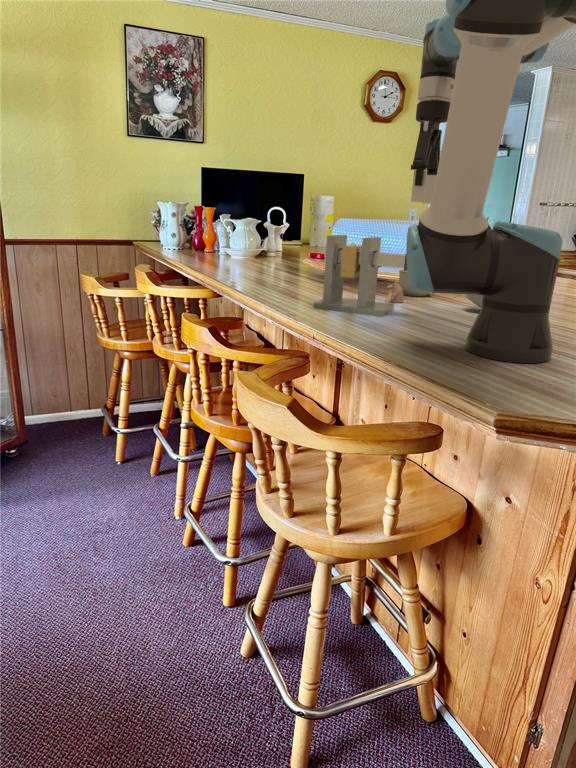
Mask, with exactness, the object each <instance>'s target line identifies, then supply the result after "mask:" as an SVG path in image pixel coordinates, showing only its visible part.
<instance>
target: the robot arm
mask: <svg viewBox="0 0 576 768" xmlns="http://www.w3.org/2000/svg"><path fill="white" fill-rule="evenodd" d="M445 9H446V13H445V14H444V15H443V16H440V17H435V18H433V19H431V20H429V21H428V22H427V24H426V26H425V31H424V36H423V41H422V43H423V47H422V57H421V68H420V77H419V82H418V83H419V84H418V90H417V91H418V92H417V101H419V102H418V103H417V104H416V111H415V121H417V122H418V123H420V124H419V125H420V127H419V133H418V138H417V141H416V147H415V151H414V156H413V160H412V164H411V165H410V170H411V171H413V179H412V187H411V188H412V189H411V196H410V197H411V198H410V202H412V203H413V202H414V203H421V204H430V206H428V207H427V208H426V209H424V210H423V211H422V212H421V213H420V215H419V219H418V223H417V224H413V225H410V226H409V227H408V228H407V233H406V248H405V249H406V251H405V252H406V253H405V255H406V257H407V275H408V281H409V284H410V286H411V288H412V289H414V290H416V291H422V292H430V293H431V294H434V295H435V294H449V295H450V294H452V295H466V294H468V295H483V301H482V307H481V308H480V310H479V312H478V315H477V316H476V318H475V320H474V322H473V324H472V327H470V330H469V332H468V334H467V337H466V340H465V341H466V342H465V349H466V351H468V352H469V353H471V354H473V355H476V356H480V357H482V358H486V359H490V360H496V361H502V362H510V363H517V364H540V363H546V362H549V361H550V360H551V358H552V354H553V349H554V347H553V339H552V333H551V332H552V331H551V325H550V318H549V317H550V311H551V304H552V301H553V300H552V299H553V294H554V290H555V285H556V281H557V276H558V271H559V267H560V262H561V261H562V256H561V255H562V247H563V237H562V235H561V234H560V233H559V232H558V231H555V230H550V229H546V228H542V227H537V226H531V225H525V224H517V223H514V222H507V221H500V220H499V221H495V223H494V225H493V226H492V229H489V220H488V219H487V218H486V216H485V214H484V207H485V203H486V200H487V196H488V191H489V187H490V184H491V181H492V180H491V179H492V176H493V173H494V168H495V164H496V162H497V156H498V152H499V148H500V144H501V141H502V137H503V132H504V130H505V124H506V120H507V118H508V117H507V116H508V113H509V109H510V104H511V101H512V97H513V93H514V89H515V84H516V81H517V78H518V74H519V73H518V72H519V71H520V70H519V69H520V65H522V64H523V65H524V64H527V63H528V64H529V63H538V62H540V61H541V60H542V59H543V58H544V55H545V54H546V52H547V51H548V47H549V45H550V42H551V41H552V40H554V39H556V38H557V37H559V36H561V35H562V34H564V33H565V32H567V31H568V30H570V29H571V28H573V27H575V26H576V0H445ZM441 123H442V124H445V123H446V125H445V129H444V135H443V141H442V145H441V140H442V133H443V130H442V129H440V124H441Z"/></svg>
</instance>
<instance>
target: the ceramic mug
mask: <svg viewBox="0 0 576 768" xmlns="http://www.w3.org/2000/svg"><path fill="white" fill-rule="evenodd" d="M464 295H465V296H464V297H465V298H466V299H468V300H469V301H470V302H472V303H473V304H474V305H476V306H477V307H478V308H480V309H481V307H482V301H483V295H468V294H464Z"/></svg>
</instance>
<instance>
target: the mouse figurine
mask: <svg viewBox="0 0 576 768" xmlns="http://www.w3.org/2000/svg"><path fill="white" fill-rule="evenodd" d="M386 288H387V290H388V291H389V292H388V294H387V297H386V299H385V300H384V302H385V303H392V304H402V303H411V301H410V300H405V299H404V293H403V291H402V288H401V287H400V285H399V282H398V279H397V278H396V277H394V283H391V284H389V285H388V286H386Z"/></svg>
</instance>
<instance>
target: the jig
mask: <svg viewBox="0 0 576 768" xmlns="http://www.w3.org/2000/svg"><path fill="white" fill-rule="evenodd" d="M347 240H348V235H347V234H332V235H326V244H325V245H326V247H325V249H326V260H325V261H324V277H323V278H324V280H323V293H322V298H321V299H319V300H317V301H314V302H313V309H315V310H324V311H331V312H338V313H339V312H341V313H349V314H356V315H357V314H358V315H366V316H372V317H373V316H374V317H381V318H384V317H386V315H388V314H389V313H391V312H392V311H394V309H395V303H391V302H383V301H382V302H381V301H376V295H377V294H376V293H377V284H378V274H379V266H373V265H372V257H373V252H379V253H381V241H382V237H379V236H369V237H362V243H361V246H362V253H361V264H360V276H358V279H359V280H358V287H357V288H358V291H357V298H344V297H343V292H344V282H345V281H344V280H345V277H340V275H341V263H338V262H337V255H338V249H340V250H342V248H343V246H347V243H348V242H347Z"/></svg>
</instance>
